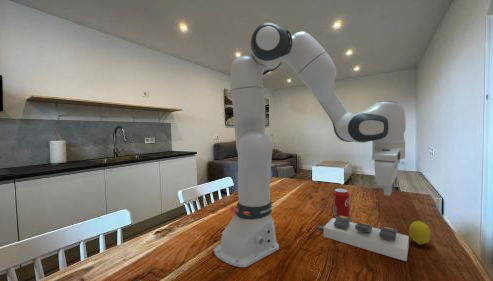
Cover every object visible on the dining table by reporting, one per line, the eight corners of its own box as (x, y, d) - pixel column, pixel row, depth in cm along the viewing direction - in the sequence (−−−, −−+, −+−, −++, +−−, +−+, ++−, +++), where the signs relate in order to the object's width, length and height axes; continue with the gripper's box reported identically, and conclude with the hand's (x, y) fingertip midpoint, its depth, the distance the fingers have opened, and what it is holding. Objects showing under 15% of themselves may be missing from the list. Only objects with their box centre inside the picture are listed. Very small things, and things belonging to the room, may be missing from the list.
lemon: (404, 240, 73) (405, 217, 73) (421, 240, 73) (421, 217, 73) (417, 249, 68) (417, 224, 67) (435, 249, 67) (435, 224, 67)
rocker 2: (368, 233, 69) (368, 227, 70) (355, 229, 72) (355, 224, 72) (372, 229, 74) (372, 224, 74) (359, 226, 77) (359, 221, 77)
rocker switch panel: (406, 261, 62) (406, 249, 62) (312, 233, 80) (312, 224, 80) (408, 246, 69) (408, 235, 69) (322, 223, 87) (322, 215, 87)
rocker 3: (394, 241, 65) (394, 236, 65) (379, 237, 68) (379, 232, 67) (396, 233, 70) (396, 228, 69) (382, 230, 72) (382, 225, 72)
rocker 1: (346, 230, 74) (345, 225, 74) (334, 226, 77) (333, 222, 76) (350, 221, 79) (350, 216, 78) (339, 218, 81) (338, 214, 81)
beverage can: (351, 220, 90) (350, 192, 89) (335, 219, 91) (334, 192, 90) (347, 214, 96) (346, 188, 95) (332, 214, 97) (331, 188, 96)
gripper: (381, 148, 79) (381, 185, 80) (370, 154, 63) (370, 200, 64) (403, 149, 75) (402, 188, 76) (396, 156, 59) (396, 205, 60)
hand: (387, 194), depth 70 cm, fingers closed
